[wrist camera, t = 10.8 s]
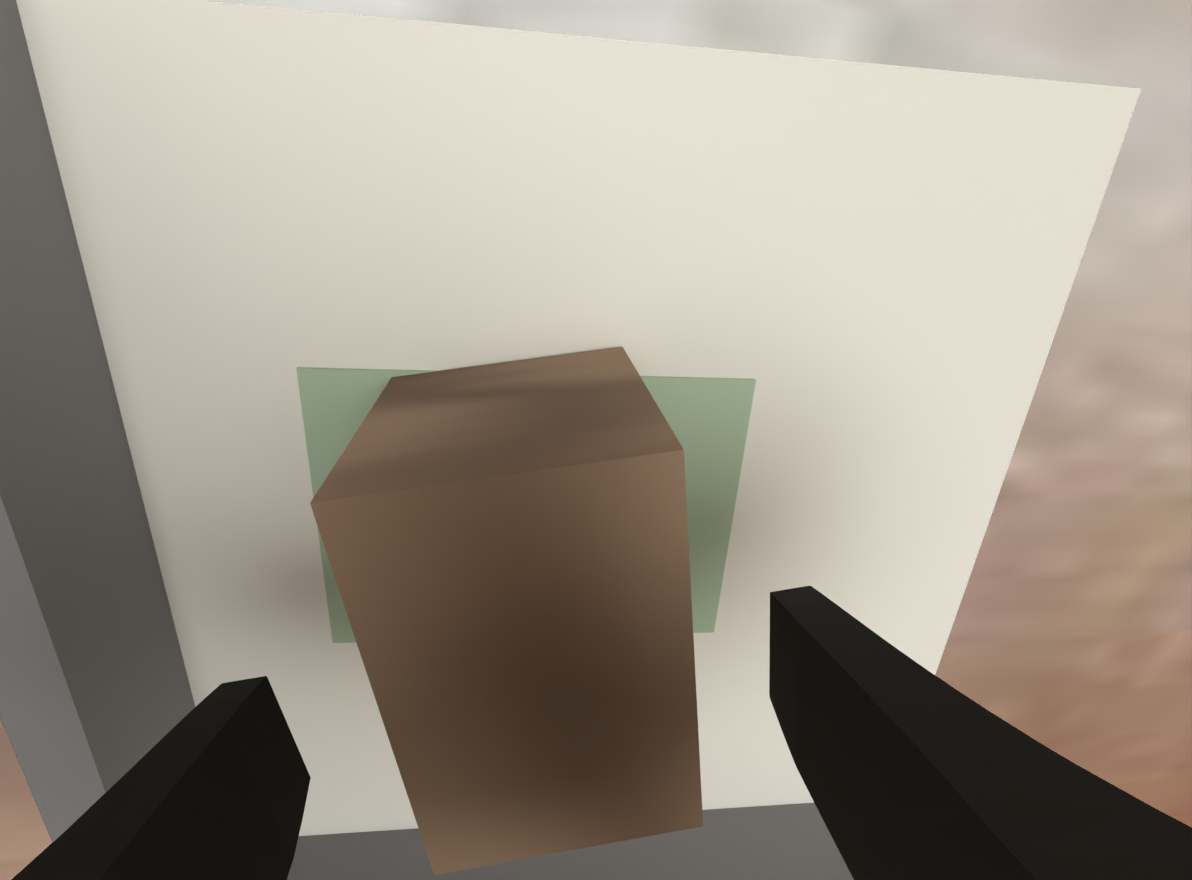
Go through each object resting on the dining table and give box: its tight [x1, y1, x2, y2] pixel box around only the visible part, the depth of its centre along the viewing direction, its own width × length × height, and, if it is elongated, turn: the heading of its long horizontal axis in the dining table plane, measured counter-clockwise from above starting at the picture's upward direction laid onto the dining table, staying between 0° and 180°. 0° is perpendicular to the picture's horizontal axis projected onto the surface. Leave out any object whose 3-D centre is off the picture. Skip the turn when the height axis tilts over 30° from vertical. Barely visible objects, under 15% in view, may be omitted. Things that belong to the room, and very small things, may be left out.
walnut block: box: [310, 347, 703, 875], centre depth 11 cm, size 4×7×5 cm, turn 6°
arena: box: [0, 0, 1141, 880], centre depth 13 cm, size 20×20×4 cm
